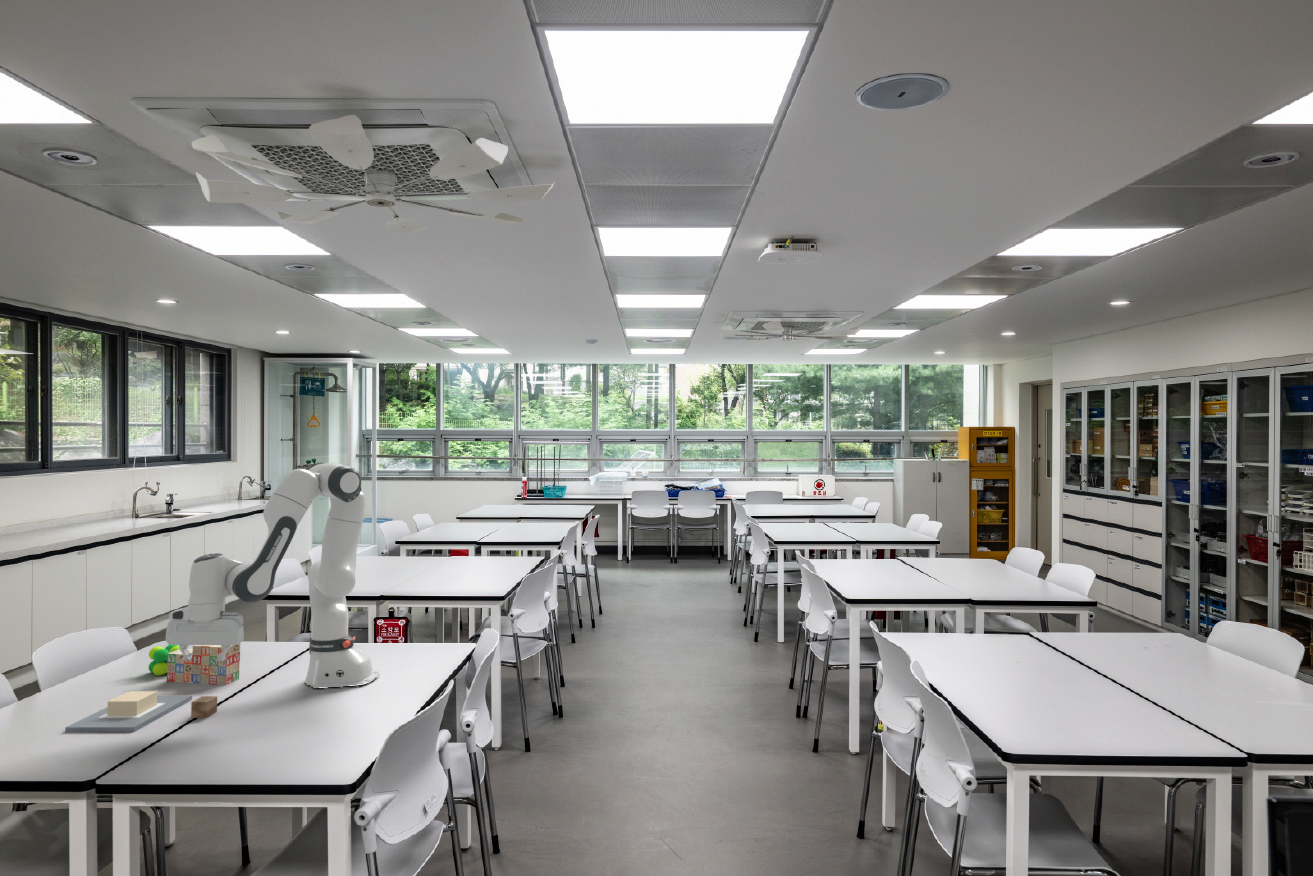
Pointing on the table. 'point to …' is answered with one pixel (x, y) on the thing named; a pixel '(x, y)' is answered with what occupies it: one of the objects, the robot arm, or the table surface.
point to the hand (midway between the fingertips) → (204, 660)
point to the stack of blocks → (204, 665)
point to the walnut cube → (204, 707)
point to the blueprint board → (126, 722)
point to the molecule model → (160, 659)
